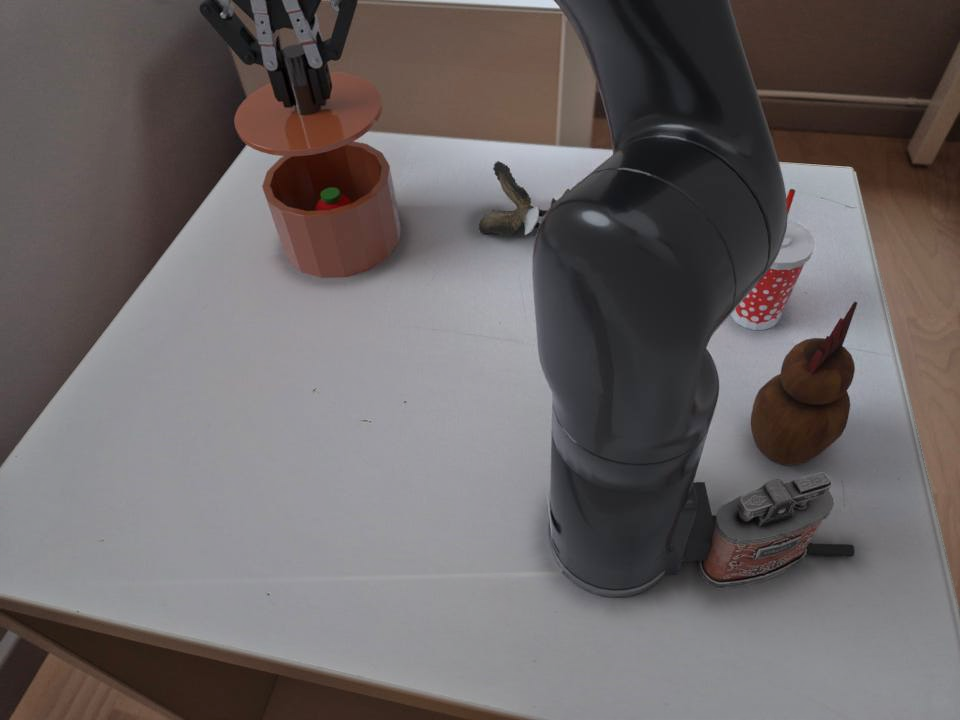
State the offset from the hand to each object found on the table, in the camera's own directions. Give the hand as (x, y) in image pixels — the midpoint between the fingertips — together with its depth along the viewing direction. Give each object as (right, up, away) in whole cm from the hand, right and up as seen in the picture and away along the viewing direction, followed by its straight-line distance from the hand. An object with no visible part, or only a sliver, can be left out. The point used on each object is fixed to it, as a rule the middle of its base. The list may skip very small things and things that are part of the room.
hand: (306, 101), depth 69 cm
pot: (+1, -11, +13) cm, 17 cm away
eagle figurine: (+20, -9, +12) cm, 25 cm away
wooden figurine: (+41, -31, -8) cm, 52 cm away
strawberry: (+1, -10, +12) cm, 16 cm away
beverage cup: (+42, -19, +2) cm, 46 cm away
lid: (0, -1, +1) cm, 1 cm away
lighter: (+36, -38, -14) cm, 54 cm away
